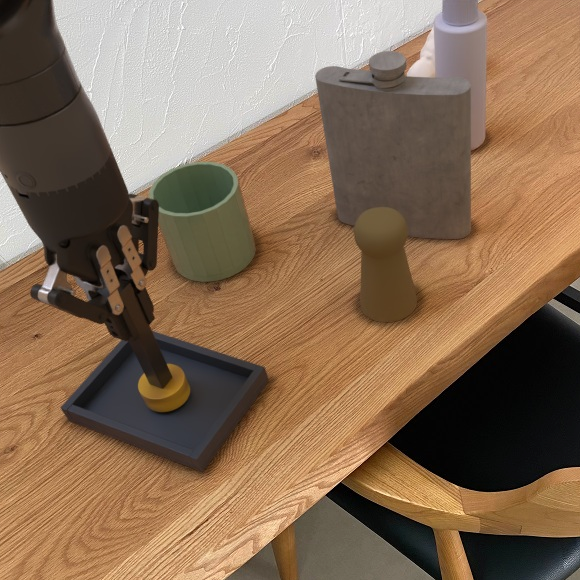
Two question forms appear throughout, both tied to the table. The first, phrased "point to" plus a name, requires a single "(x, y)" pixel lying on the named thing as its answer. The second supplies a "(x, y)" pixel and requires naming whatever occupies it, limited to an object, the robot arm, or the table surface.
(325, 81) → the hip flask
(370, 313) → the peg doll figure
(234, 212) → the beaker
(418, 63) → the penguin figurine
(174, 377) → the brush
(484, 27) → the spray bottle
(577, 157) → the table surface
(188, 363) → the tray
